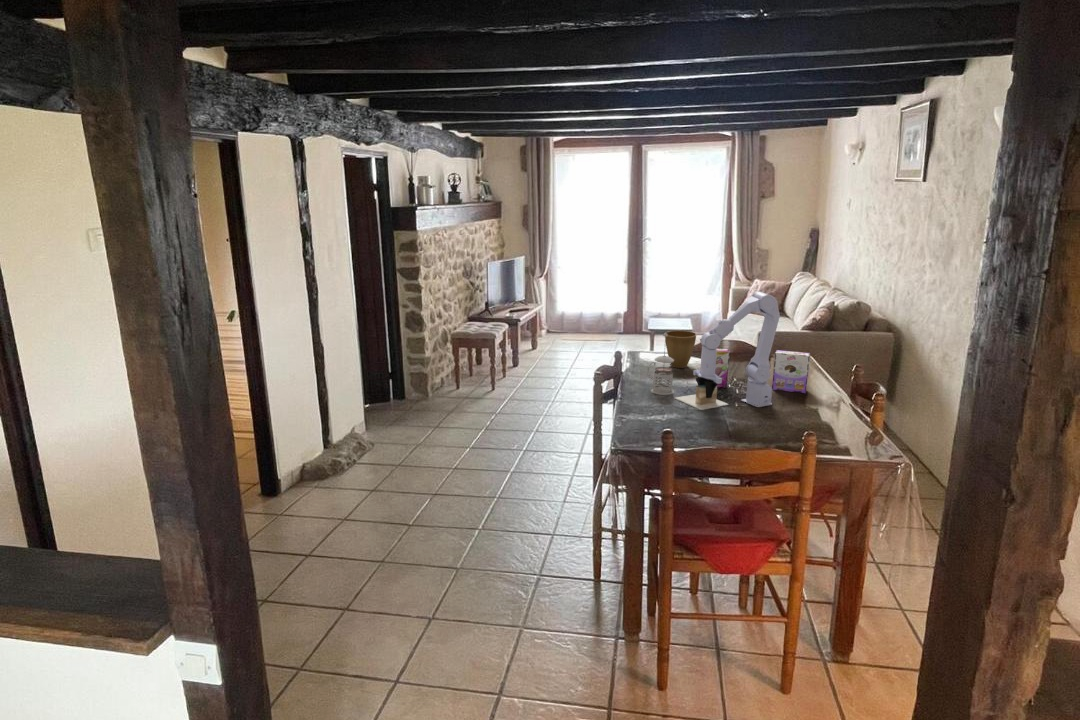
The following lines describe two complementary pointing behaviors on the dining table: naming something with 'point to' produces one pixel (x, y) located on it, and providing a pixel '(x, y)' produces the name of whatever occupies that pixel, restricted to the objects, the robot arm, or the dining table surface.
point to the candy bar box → (722, 366)
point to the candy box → (791, 371)
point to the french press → (662, 375)
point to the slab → (704, 395)
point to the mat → (691, 401)
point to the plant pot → (680, 347)
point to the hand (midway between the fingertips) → (705, 396)
